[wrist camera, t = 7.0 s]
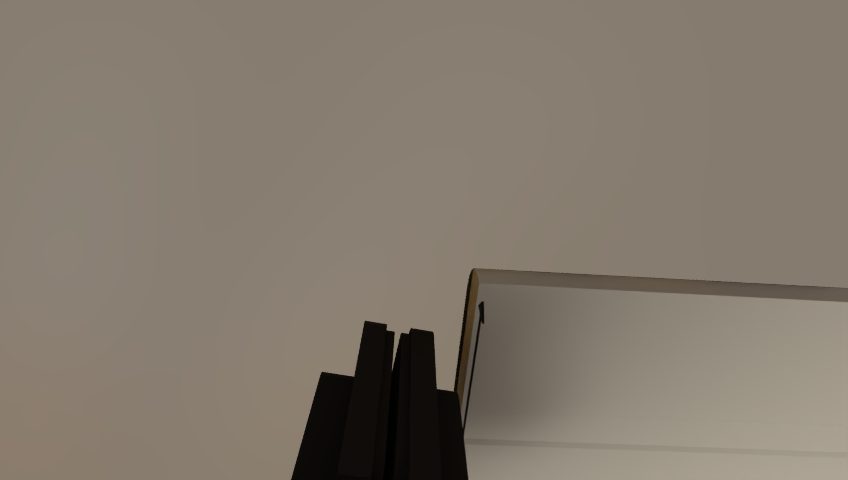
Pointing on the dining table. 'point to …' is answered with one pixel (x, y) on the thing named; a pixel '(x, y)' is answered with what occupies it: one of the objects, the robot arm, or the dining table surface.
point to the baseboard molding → (651, 378)
